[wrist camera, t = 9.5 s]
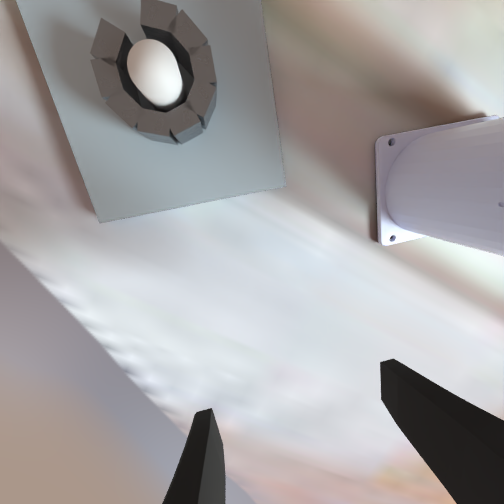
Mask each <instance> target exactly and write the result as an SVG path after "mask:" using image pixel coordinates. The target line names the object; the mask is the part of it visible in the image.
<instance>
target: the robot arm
mask: <svg viewBox="0 0 504 504" xmlns="http://www.w3.org/2000/svg"><path fill="white" fill-rule="evenodd" d="M389 140H391V142H392V143H391V145H389V144H388V142H389ZM375 151H376V187H377V223H378V242H379V244H381V245H383V246H388V245H392V244H396V243H401V242H405V241H410V240H414V239H418V238H423V237H427V236H429V237H433V238H437V239H440V240H444V241H448V242H452V243H456V244H459V245H463V246H467V247H471V248H475V249H479V250H482V251H486V252H490V253H494V254H498V255H501V256H504V117H503V118H499V116H497V115H493V116H488V117H482V118H477V119H471V120H466V121H461V122H455V123H450V124H445V125H439V126H434V127H429V128H423V129H418V130H413V131H407V132H402V133H396V134H391V135H386V136H382V137H379V138H378V139H377V141H376V144H375ZM391 236H392V239H391V240H390V237H391ZM380 371H381V400H382V401H383V403H384V404H385V406H386V408H387V409H388V411H389V413H390V414H391V416H392V418H393V419H394V421H395V422H396V424H397V425H398V427H399V428H400V429H401V431H402V432H403V433H404V435H405V436H406V437H407V439H408V440H409V441H410V443H411V444H412V445H413V447H414V448H415V449H416V450H417V452H418V453H419V454H420V456H421V457H422V458H423V460H424V461H425V462H426V463H427V465H428V466H429V467H430V469H431V470H432V471H433V473H434V474H435V475H436V476H437V478H438V479H439V480H440V482H441V483H442V484H443V486H444V487H445V488H446V490H447V491H448V492H449V494H450V495H451V496H452V498H453V499H454V501H455V502H456V503H457V504H504V420H502V419H500V418H498V417H496V416H494V415H492V414H490V413H488V412H486V411H484V410H482V409H480V408H478V407H476V406H475V405H473V404H471V403H469V402H467V401H465V400H464V399H462V398H460V397H458V396H456V395H455V394H453V393H451V392H449V391H448V390H446V389H444V388H442V387H441V386H439V385H437V384H435V383H434V382H432V381H430V380H429V379H427V378H425V377H424V376H422V375H420V374H419V373H417V372H415V371H414V370H412V369H410V368H409V367H407V366H405V365H404V364H402V363H400V362H399V361H397V360H395V359H390V360H387V361H383V362H380ZM162 504H225V463H224V450H223V443H222V439H221V436H220V433H219V430H218V426H217V423H216V420H215V417H214V413H213V410H212V408H210V409H207V410H203V411H199V412H197V413H196V414H195V416H194V419H193V423H192V426H191V429H190V432H189V435H188V438H187V441H186V444H185V447H184V450H183V453H182V456H181V458H180V461H179V464H178V466H177V469H176V471H175V474H174V477H173V479H172V482H171V484H170V487H169V489H168V491H167V494H166V496H165V499H164V501H163V503H162Z"/></svg>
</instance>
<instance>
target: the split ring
mask: <svg viewBox="0 0 504 504" xmlns="http://www.w3.org/2000/svg"><path fill="white" fill-rule="evenodd" d="M140 25H141V27H142V29H143V31H144V33H145V35H146V38H147V39H153V40H157V41H159V42H161V43H163V44H164V45H165V46H167V47H168V48H169V49H170V51H171V52H172V53H173V55H174V57H175V59H176V62H177V63H180V64H181V65H182V66H183V67H184V68H185V70H186V71H187V72H188V73H189V74H190V75H191V76H192V77H193V78H194V82H193V85H192V87H191V90H190V92H189V95H188V97H187V100H186V102H185V103H183V104H181V105H180V106H178V107H176V108H174V109H172V110H171V111H169V112H167V113H164V112H159V111H154V110H149V109H144V108H142V107H141V103H140V99H139V95H138V92H137V88H136V85H135V84H134V83H133V81H132V79H131V77H130V75H129V72H128V68H127V58H128V54H129V52H130V50H131V48H132V47H133V44H132V42H131V41H130V39H129V37H128V36H127V34H126V33H125V32H124V31H122V30H121V29H119V28H117V27H116V26H114V25H112V24H111V23H109V22H108V21H106V20H104V19H103V18H101V19H100V22H99V26H98V29H97V32H96V35H95V39H94V42H93V45H92V48H91V51H90V54H91V55H92V56H93V57H94V58H95V59H91V60H90V61H91V64H92V68H93V71H94V74H95V77H96V81H97V84H98V87H99V91H100V94H101V97H102V98H103V99H104V100H106V102H105V103H106V104H107V105H108V106H109V107H110V108H111V109H112V110H113V111H114V112H115V113H116V114H117V115H118V116H120V117H121V118H122V119H123V120H124V121H125V122H126V123H127V124H128V125H129V126H130V127H131V128H132V129H134V130H136V131H137V132H139V133H140V134H142V135H144V136H145V137H147V138H148V139H151V140H152V141H157V142H163V143H168V144H174V145H178V141H179V142H180V143H181V144H184V143H186V142H188V141H189V140H191V139H193V138H195V137H197V136H199V135H200V134H202V133H203V130H202V128H203V129H205V130H206V128H207V126H208V124H209V121H210V119H211V117H212V114H213V112H214V109H215V107H216V98H217V79H216V74H215V68H214V63H213V57H212V51H211V46H210V45H208V39H207V38H206V37H205V35H204V34H203V33H202V32H201V31H200V30H199V28H198V27H197V26H196V25H195V24H194V22H193V21H192V20H191V19H190V18H189V16H188V15H187V14H186V13H185V12H184V11H183V9H182V10H181V11H180V12H179V13H178V9H177V5H174V4H170V3H166V2H163V1H159V0H141V11H140Z"/></svg>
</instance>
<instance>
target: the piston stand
mask: <svg viewBox="0 0 504 504" xmlns="http://www.w3.org/2000/svg"><path fill="white" fill-rule="evenodd" d="M159 1H163V2H166V3H170V4H174V5H177V9H178V13H179V12H180V11H181V10H182V9H183V11H184V12H185V13H186V14H187V15H188V16H189V18H190V19H191V20H192V21H193V22H194V24H195V25H196V26H197V27H198V28H199V30H200V31H201V32H202V33H203V34H204V35H205V37H206V38H207V39H208V45H210V46H211V51H212V57H213V63H214V68H215V74H216V79H217V98H216V107H215V109H214V112H213V114H212V117H211V119H210V121H209V124H208V126H207V128H206V130H205V129H203V128H202V130H203V133H202V134H200V135H199V136H197V137H195V138H193V139H191V140H189V141H188V142H186V143H184V144H181V143H180V142H179V141H178V145H174V144H168V143H163V142H157V141H152V140H151V139H148V138H147V137H145V136H144V135H142V134H140V133H139V132H137V131H136V130H134V129H132V128H131V127H130V126H129V125H128V124H127V123H126V122H125V121H124V120H123V119H122V118H121V117H120V116H118V115H117V114H116V113H115V112H114V111H113V110H112V109H111V108H110V107H109V106H108V105H107V104H106V103H105V102H106V100H104V99H103V98H102V97H101V94H100V91H99V87H98V84H97V81H96V77H95V74H94V71H93V68H92V64H91V61H90V60H91V59H95V58H94V57H93V56H92V55H91V54H90V51H91V48H92V45H93V42H94V39H95V35H96V32H97V29H98V26H99V22H100V19H101V18H103V19H104V20H106V21H108V22H109V23H111V24H112V25H114V26H116V27H117V28H119V29H121V30H122V31H124V32H125V33H126V34H127V36H128V37H129V39H130V41H131V42H132V44H133V47H132V48H131V50H130V52H129V54H128V58H127V68H128V72H129V75H130V77H131V79H132V81H133V83H134V84H135V85H136V88H137V92H138V95H139V99H140V103H141V107H142V108H144V109H149V110H154V111H159V112H164V113H167V112H169V111H171V110H172V109H174V108H176V107H178V106H180V105H181V104H183V103H185V102H186V100H187V97H188V95H189V92H190V90H191V87H192V85H193V82H194V78H193V77H192V76H191V75H190V74H189V73H188V72H187V71H186V70H185V68H184V67H183V66H182V65H181V64H180V63H177V62H176V59H175V57H174V55H173V53H172V52H171V51H170V49H169V48H168V47H167V46H165V45H164V44H163V43H161V42H159V41H157V40H153V39H147V38H146V35H145V33H144V31H143V29H142V27H141V25H140V11H141V0H16V2H17V5H18V7H19V10H20V13H21V15H22V18H23V21H24V23H25V26H26V29H27V31H28V34H29V37H30V39H31V42H32V45H33V47H34V50H35V53H36V55H37V58H38V61H39V63H40V66H41V69H42V71H43V74H44V77H45V79H46V82H47V85H48V87H49V90H50V93H51V95H52V98H53V101H54V103H55V106H56V109H57V111H58V114H59V117H60V119H61V122H62V125H63V127H64V130H65V133H66V135H67V138H68V141H69V143H70V146H71V149H72V151H73V154H74V157H75V159H76V162H77V165H78V167H79V170H80V173H81V175H82V178H83V181H84V183H85V186H86V189H87V191H88V194H89V197H90V199H91V202H92V205H93V207H94V210H95V213H96V215H97V218H98V221H99V223H104V222H109V221H114V220H119V219H125V218H130V217H135V216H140V215H145V214H150V213H155V212H160V211H165V210H170V209H175V208H180V207H185V206H190V205H195V204H200V203H205V202H210V201H215V200H220V199H225V198H230V197H235V196H240V195H245V194H250V193H255V192H261V191H266V190H271V189H276V188H281V187H286V181H285V173H284V166H283V158H282V151H281V144H280V136H279V129H278V122H277V114H276V107H275V99H274V92H273V85H272V77H271V70H270V62H269V55H268V48H267V40H266V33H265V25H264V18H263V11H262V3H261V0H159Z"/></svg>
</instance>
